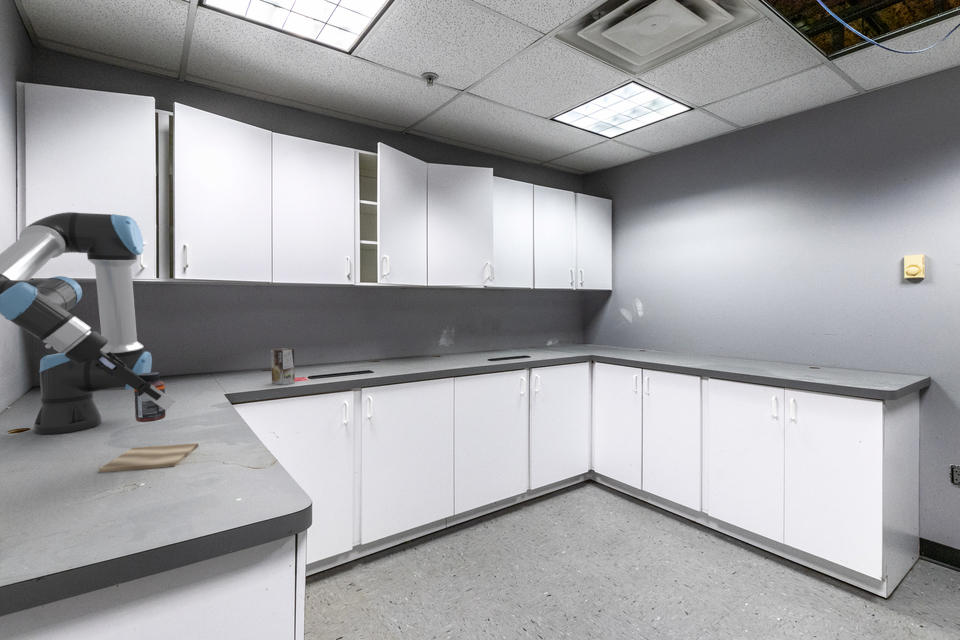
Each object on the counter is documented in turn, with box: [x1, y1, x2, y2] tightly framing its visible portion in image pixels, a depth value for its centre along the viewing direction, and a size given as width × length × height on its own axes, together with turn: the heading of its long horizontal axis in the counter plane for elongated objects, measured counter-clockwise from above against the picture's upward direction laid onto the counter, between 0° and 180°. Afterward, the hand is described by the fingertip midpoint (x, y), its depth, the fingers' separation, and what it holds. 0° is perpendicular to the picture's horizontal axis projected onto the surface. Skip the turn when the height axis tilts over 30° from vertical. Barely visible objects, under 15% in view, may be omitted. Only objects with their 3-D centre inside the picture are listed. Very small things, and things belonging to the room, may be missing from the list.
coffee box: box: [270, 347, 296, 385], centre depth 211 cm, size 9×6×16 cm
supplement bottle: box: [133, 371, 167, 423], centre depth 109 cm, size 6×6×11 cm
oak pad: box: [98, 442, 199, 473], centre depth 110 cm, size 15×15×1 cm
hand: (168, 403), depth 112 cm, fingers closed on supplement bottle, 6 cm apart
